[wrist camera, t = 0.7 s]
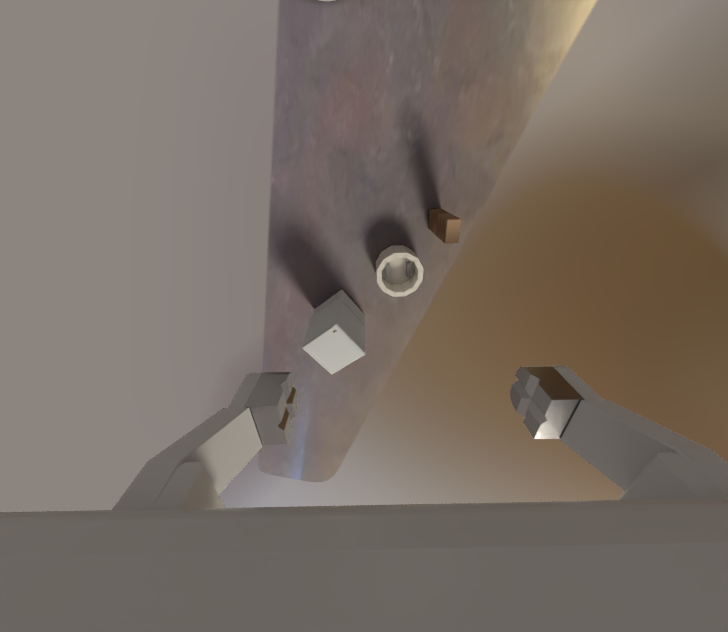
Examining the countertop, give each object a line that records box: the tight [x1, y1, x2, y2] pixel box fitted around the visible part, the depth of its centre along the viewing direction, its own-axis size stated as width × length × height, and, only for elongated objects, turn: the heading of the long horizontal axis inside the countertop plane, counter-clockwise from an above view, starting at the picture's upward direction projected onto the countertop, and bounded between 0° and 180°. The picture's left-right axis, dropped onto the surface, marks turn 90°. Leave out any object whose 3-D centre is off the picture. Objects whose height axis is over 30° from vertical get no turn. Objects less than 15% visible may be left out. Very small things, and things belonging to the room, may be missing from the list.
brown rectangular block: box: [428, 209, 462, 243], centre depth 39 cm, size 3×2×10 cm, turn 2°
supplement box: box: [302, 290, 365, 374], centre depth 46 cm, size 7×7×13 cm
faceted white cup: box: [376, 245, 423, 297], centre depth 45 cm, size 8×8×4 cm
